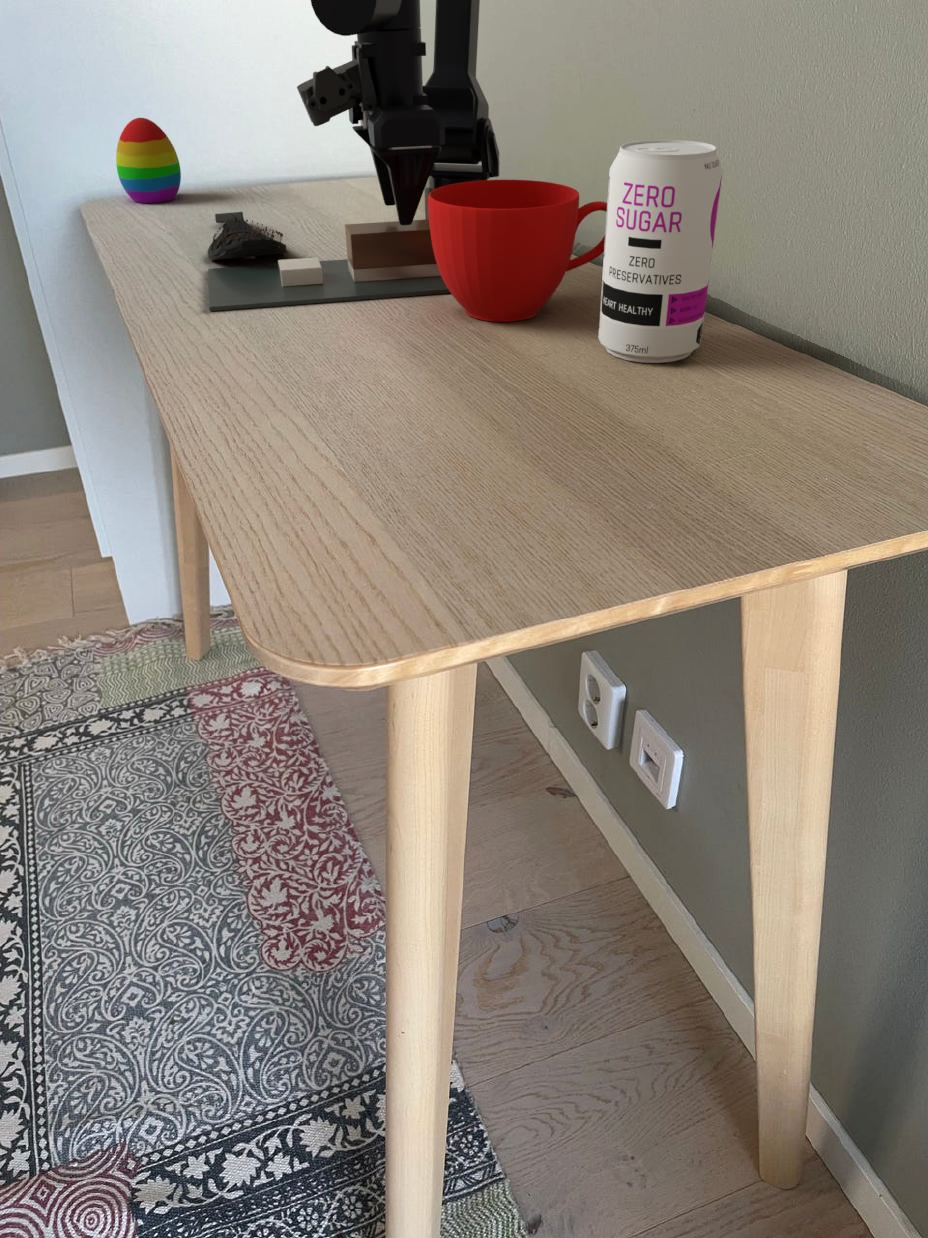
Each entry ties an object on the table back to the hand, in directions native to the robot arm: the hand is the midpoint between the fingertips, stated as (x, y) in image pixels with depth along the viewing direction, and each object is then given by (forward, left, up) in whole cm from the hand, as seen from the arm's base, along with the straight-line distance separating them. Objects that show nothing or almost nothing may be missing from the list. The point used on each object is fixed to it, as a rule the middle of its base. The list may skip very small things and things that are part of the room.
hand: (397, 214), depth 95 cm
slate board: (+7, 0, -6) cm, 9 cm away
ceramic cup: (-9, +14, -6) cm, 18 cm away
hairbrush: (+15, -18, -6) cm, 24 cm away
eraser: (0, 0, -6) cm, 6 cm away
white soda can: (-16, +27, -6) cm, 32 cm away
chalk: (+10, 0, -6) cm, 11 cm away
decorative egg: (+26, -48, -6) cm, 55 cm away
